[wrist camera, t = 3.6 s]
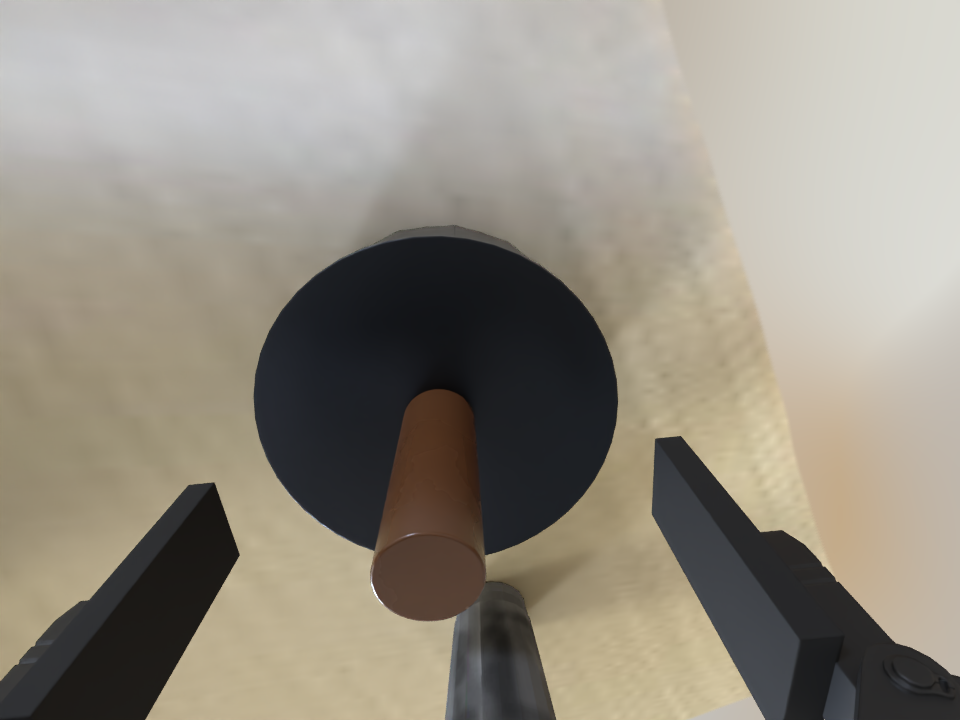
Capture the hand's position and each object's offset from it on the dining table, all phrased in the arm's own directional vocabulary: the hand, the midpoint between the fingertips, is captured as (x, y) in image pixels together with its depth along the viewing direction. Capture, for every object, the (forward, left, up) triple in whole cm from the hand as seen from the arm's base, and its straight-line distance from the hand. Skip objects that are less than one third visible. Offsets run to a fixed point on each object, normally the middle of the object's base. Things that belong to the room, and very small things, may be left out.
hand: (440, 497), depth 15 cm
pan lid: (0, 0, -5) cm, 5 cm away
